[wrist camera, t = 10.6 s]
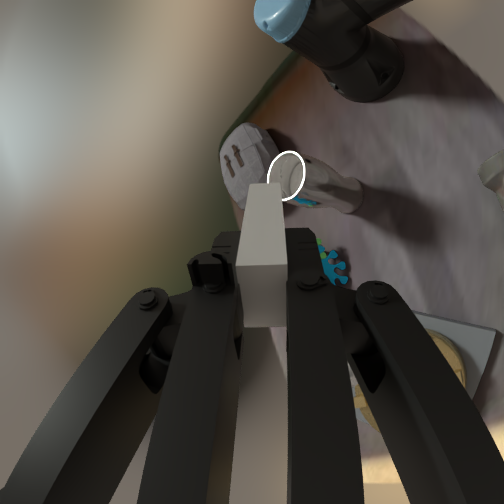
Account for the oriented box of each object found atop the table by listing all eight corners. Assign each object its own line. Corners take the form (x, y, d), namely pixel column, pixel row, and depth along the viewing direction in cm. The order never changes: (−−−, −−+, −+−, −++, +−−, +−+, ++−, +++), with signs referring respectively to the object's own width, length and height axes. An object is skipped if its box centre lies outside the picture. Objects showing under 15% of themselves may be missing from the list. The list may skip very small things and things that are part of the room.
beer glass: (351, 224, 43) (288, 213, 34) (324, 201, 47) (259, 185, 38) (373, 188, 40) (316, 163, 30) (343, 167, 44) (281, 140, 35)
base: (374, 301, 40) (369, 303, 38) (496, 329, 24) (496, 332, 23) (348, 409, 41) (343, 413, 40) (447, 448, 26) (443, 455, 25)
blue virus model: (344, 311, 42) (282, 305, 43) (336, 308, 48) (281, 302, 49) (352, 242, 43) (291, 234, 44) (343, 246, 49) (289, 239, 50)
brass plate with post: (344, 380, 41) (282, 414, 31) (409, 302, 34) (362, 323, 24) (407, 449, 30) (359, 506, 20) (489, 380, 23) (476, 441, 13)
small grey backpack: (233, 162, 69) (258, 229, 61) (204, 156, 63) (226, 226, 55) (269, 119, 59) (306, 185, 51) (239, 107, 53) (273, 176, 45)
